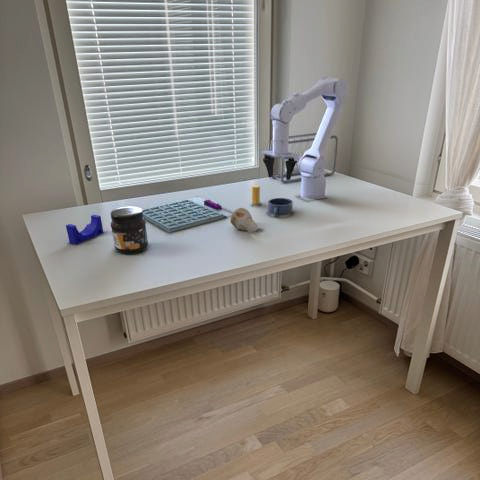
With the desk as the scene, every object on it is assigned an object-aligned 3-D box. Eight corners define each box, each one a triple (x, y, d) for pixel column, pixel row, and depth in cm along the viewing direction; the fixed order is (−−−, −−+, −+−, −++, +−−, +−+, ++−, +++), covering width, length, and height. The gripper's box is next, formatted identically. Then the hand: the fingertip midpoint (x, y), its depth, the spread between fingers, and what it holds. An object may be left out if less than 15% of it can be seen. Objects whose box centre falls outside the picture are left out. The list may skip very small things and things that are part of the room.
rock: (249, 238, 151) (235, 210, 148) (237, 241, 160) (224, 215, 157) (266, 228, 153) (253, 200, 151) (254, 232, 162) (241, 206, 160)
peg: (257, 203, 181) (257, 184, 177) (261, 205, 179) (261, 186, 175) (250, 205, 180) (250, 185, 176) (254, 207, 178) (254, 187, 174)
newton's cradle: (321, 170, 224) (324, 131, 215) (335, 174, 217) (338, 135, 207) (269, 178, 213) (270, 138, 203) (281, 183, 205) (282, 142, 196)
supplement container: (110, 255, 140) (104, 217, 134) (120, 241, 149) (114, 205, 143) (144, 255, 140) (139, 217, 133) (152, 242, 149) (147, 205, 142)
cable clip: (94, 230, 158) (91, 213, 155) (103, 232, 156) (100, 215, 153) (66, 242, 150) (62, 224, 147) (75, 244, 148) (72, 226, 145)
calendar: (133, 212, 175) (132, 206, 173) (196, 197, 189) (196, 191, 188) (169, 232, 156) (168, 225, 155) (236, 214, 170) (236, 208, 169)
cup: (271, 208, 176) (271, 197, 173) (294, 210, 173) (295, 199, 171) (263, 218, 166) (263, 206, 164) (287, 221, 164) (288, 208, 161)
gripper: (257, 140, 167) (257, 178, 175) (293, 144, 161) (291, 183, 168) (267, 137, 172) (266, 173, 180) (302, 140, 166) (300, 178, 173)
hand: (279, 178), depth 174 cm, fingers open, 7 cm apart
